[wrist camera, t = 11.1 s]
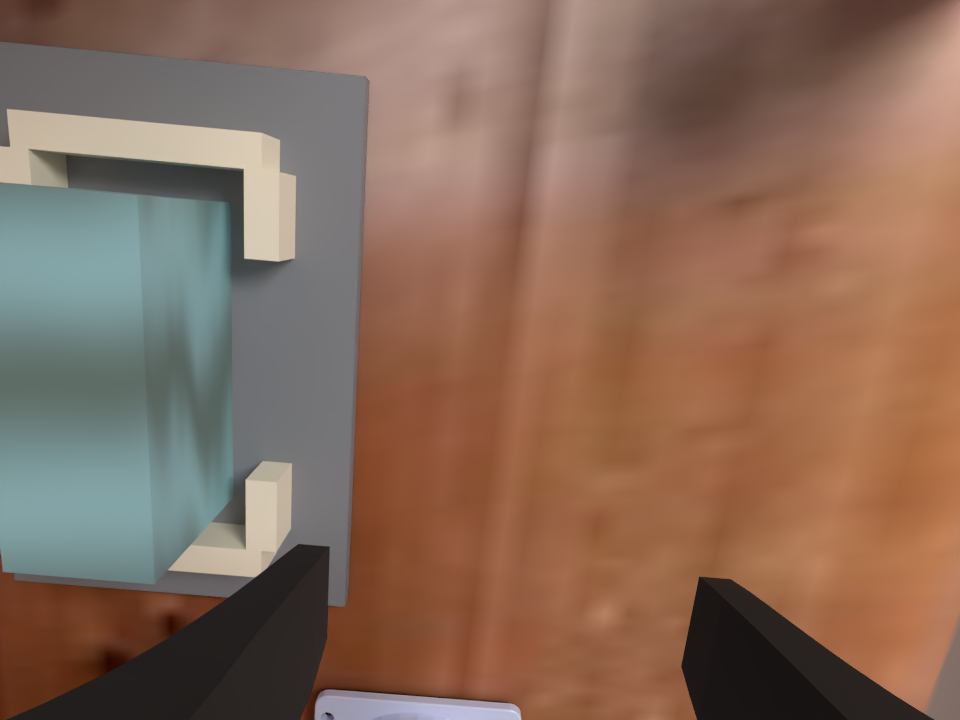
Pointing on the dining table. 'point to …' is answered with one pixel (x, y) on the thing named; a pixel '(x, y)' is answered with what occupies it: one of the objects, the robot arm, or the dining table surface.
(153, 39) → the dining table surface
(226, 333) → the teal block
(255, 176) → the jig
